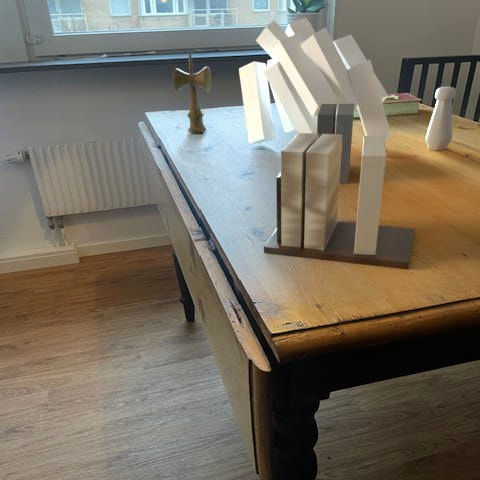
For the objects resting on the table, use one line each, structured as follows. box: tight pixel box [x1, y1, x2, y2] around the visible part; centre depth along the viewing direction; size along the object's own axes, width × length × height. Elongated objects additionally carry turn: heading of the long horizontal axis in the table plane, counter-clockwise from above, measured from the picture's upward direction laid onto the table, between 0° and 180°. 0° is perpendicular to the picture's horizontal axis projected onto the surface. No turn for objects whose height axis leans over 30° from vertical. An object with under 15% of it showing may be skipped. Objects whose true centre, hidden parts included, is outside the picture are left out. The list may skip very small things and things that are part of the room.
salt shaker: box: [425, 86, 457, 152], centre depth 113 cm, size 6×6×13 cm
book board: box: [263, 132, 416, 270], centre depth 73 cm, size 21×12×15 cm, turn 70°
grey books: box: [316, 104, 354, 185], centre depth 101 cm, size 6×10×13 cm, turn 168°
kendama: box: [172, 52, 212, 134], centre depth 136 cm, size 6×10×20 cm, turn 80°
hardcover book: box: [353, 92, 423, 120], centre depth 149 cm, size 12×21×4 cm, turn 95°
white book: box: [354, 135, 387, 255], centre depth 72 cm, size 3×10×14 cm, turn 168°
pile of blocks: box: [238, 17, 393, 145], centre depth 123 cm, size 35×30×35 cm
